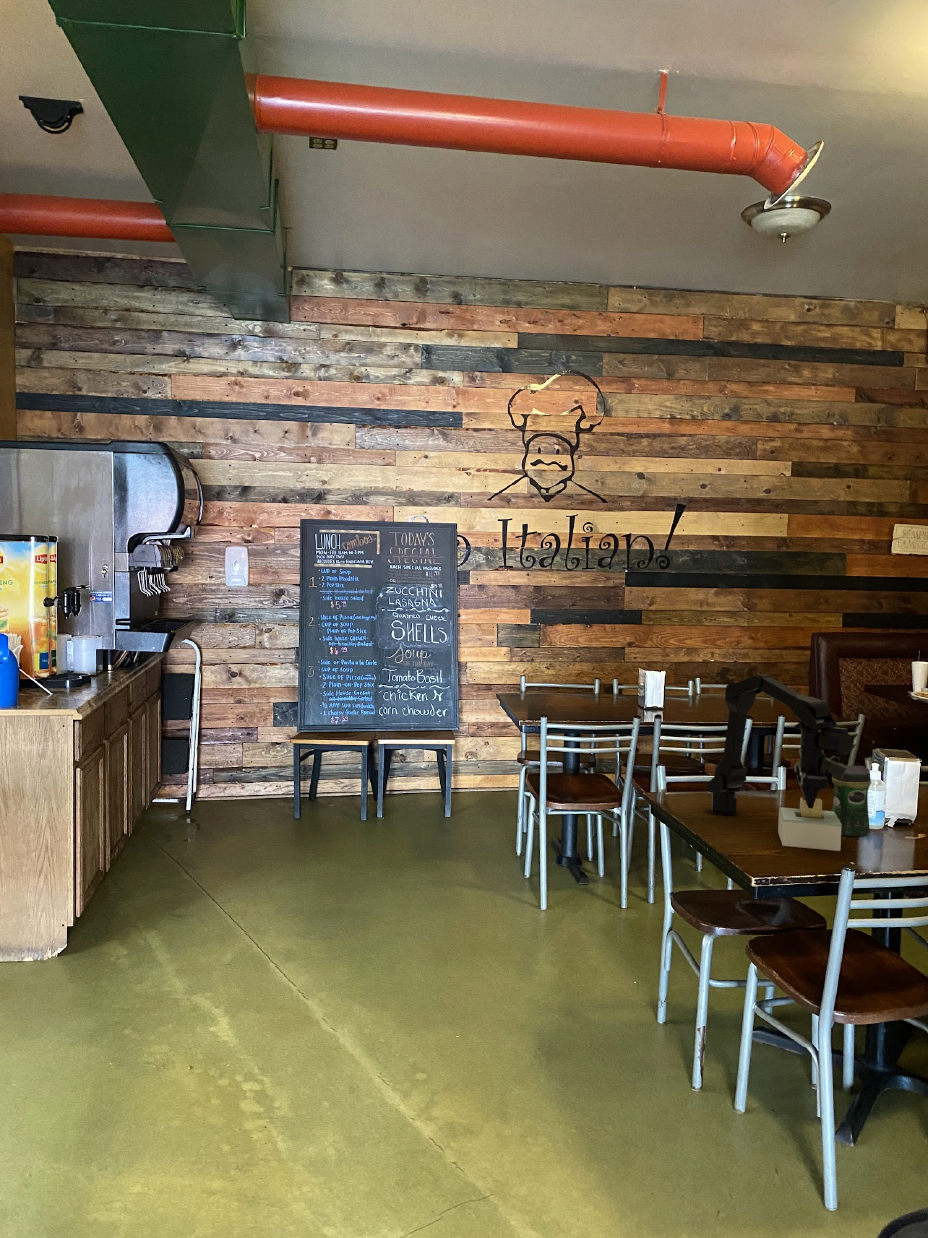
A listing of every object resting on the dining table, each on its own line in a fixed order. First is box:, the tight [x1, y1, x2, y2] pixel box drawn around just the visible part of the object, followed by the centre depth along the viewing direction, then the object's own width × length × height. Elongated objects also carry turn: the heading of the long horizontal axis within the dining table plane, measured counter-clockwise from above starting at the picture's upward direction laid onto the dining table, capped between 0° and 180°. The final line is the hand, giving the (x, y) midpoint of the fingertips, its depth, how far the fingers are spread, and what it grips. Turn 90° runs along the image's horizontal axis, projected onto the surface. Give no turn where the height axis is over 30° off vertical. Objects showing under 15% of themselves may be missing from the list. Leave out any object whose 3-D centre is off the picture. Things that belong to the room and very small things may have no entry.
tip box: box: [777, 806, 842, 852], centre depth 232 cm, size 14×12×7 cm
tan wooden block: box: [799, 797, 823, 819], centre depth 231 cm, size 5×3×5 cm, turn 77°
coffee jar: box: [831, 765, 872, 837], centre depth 240 cm, size 10×8×19 cm
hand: (809, 806), depth 231 cm, fingers open, 4 cm apart
